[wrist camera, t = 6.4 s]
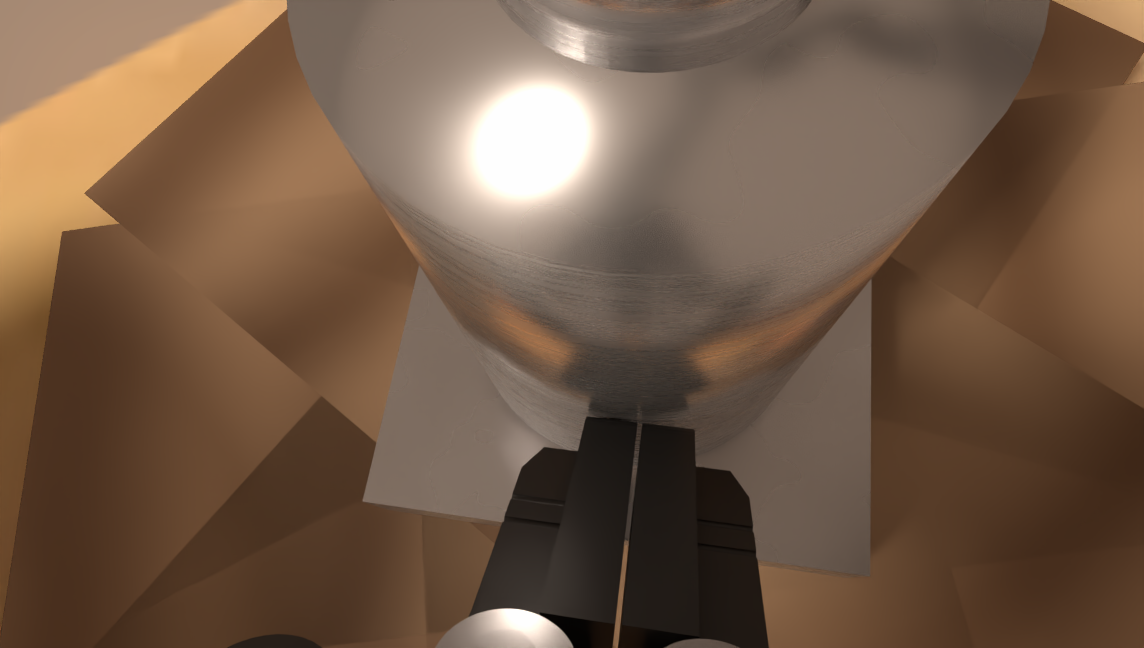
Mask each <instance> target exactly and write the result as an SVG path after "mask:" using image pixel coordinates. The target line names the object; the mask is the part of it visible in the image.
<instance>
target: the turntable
mask: <svg viewBox="0 0 1144 648" xmlns="http://www.w3.org/2000/svg"><path fill="white" fill-rule="evenodd" d="M1143 53H1144V43H1143V42H1141V41H1138V40H1136V39H1134V38H1132V37H1130V36H1128V35H1125V34H1123V33H1121V32H1119V31H1117V30H1115V29H1112V28H1110V27H1108V26H1106V25H1104V24H1102V23H1099V22H1097V21H1095V20H1093V19H1091V18H1089V17H1086V16H1084V15H1082V14H1080V13H1078V12H1076V11H1073V10H1071V9H1069V8H1067V7H1065V6H1063V5H1060V4H1058V3H1056V2H1054V1H1052V0H1050V3H1049V9H1048V15H1047V21H1046V27H1045V32H1044V35H1043V37H1042V40H1041V43H1040V46H1039V48H1038V51H1037V54H1036V56H1035V59H1034V62H1033V65H1032V67H1031V70H1030V72H1029V74H1028V76H1027V78H1026V79H1025V81H1024V83H1023V85H1022V86H1021V88H1020V90H1019V91H1018V93H1017V95H1016V97H1015V98H1014V100H1013V102H1012V103H1011V105H1010V107H1009V109H1008V110H1007V112H1006V113H1005V114H1004V116H1003V117H1002V118H1001V119H1000V120H999V122H998V123H997V124H996V125H995V127H994V128H993V129H992V130H991V132H990V133H989V134H988V135H987V137H986V138H985V139H984V140H983V141H982V143H981V144H980V145H979V146H978V148H977V149H976V150H975V151H974V153H973V154H972V155H971V156H970V158H969V159H968V160H967V161H966V162H965V164H964V165H963V166H962V167H961V169H960V170H959V171H958V172H957V174H956V175H955V176H954V177H953V179H952V180H951V181H950V182H949V183H948V185H947V186H946V187H945V188H944V190H943V191H942V192H941V193H940V195H939V196H938V197H937V198H936V200H935V201H934V202H933V203H932V204H931V206H930V207H929V208H928V209H927V211H926V212H925V213H924V214H923V216H922V217H921V218H920V219H919V221H918V222H917V223H916V224H915V225H914V227H913V228H912V229H911V230H910V232H909V233H908V234H907V235H906V237H905V238H904V239H903V240H902V242H901V243H900V244H899V245H898V246H897V248H896V249H895V250H894V251H893V253H892V254H891V255H890V256H889V258H888V259H887V260H886V261H885V263H884V264H883V265H882V266H881V267H880V269H879V270H878V271H877V272H876V274H875V275H874V276H873V277H872V279H871V512H870V577H850V578H843V577H836V576H829V575H823V574H816V573H809V572H802V571H796V570H789V569H782V568H775V567H769V566H762V565H758V567H759V575H760V583H761V590H762V598H763V606H764V613H765V621H766V629H767V636H768V644H769V648H1144V82H1141V83H1134V84H1127V85H1123V83H1124V82H1125V80H1126V79H1127V77H1128V76H1129V74H1130V73H1131V71H1132V70H1133V68H1134V67H1135V65H1136V63H1137V62H1138V60H1139V59H1140V57H1141V56H1142V54H1143ZM85 194H86V195H87V196H88V197H89V198H90V199H92V200H93V201H94V202H95V203H96V204H97V205H99V206H100V207H101V208H102V209H103V210H104V211H106V212H107V213H108V214H109V215H110V216H112V217H113V218H114V219H115V220H116V221H117V222H119V223H120V224H114V225H107V226H99V227H92V228H85V229H78V230H70V231H63V232H62V237H61V244H60V250H59V257H58V263H57V270H56V276H55V283H54V289H53V296H52V302H51V309H50V315H49V322H48V328H47V335H46V341H45V348H44V354H43V361H42V367H41V374H40V381H39V387H38V394H37V400H36V407H35V413H34V420H33V426H32V433H31V439H30V446H29V452H28V459H27V465H26V472H25V478H24V485H23V491H22V498H21V504H20V511H19V518H18V524H17V531H16V537H15V544H14V550H13V557H12V563H11V570H10V576H9V583H8V589H7V596H6V602H5V609H4V615H3V622H2V628H1V635H0V648H227V647H229V646H231V645H233V644H236V643H238V642H241V641H244V640H247V639H250V638H254V637H259V636H264V635H273V634H286V635H294V636H299V637H303V638H306V639H308V640H311V641H313V642H315V643H316V644H318V645H319V646H321V647H322V648H436V646H437V644H438V643H439V641H440V640H441V638H442V637H443V636H444V635H445V634H446V633H447V632H448V631H449V630H450V629H451V628H452V627H454V626H455V625H456V624H458V623H459V622H461V621H462V620H464V619H466V618H468V616H469V614H470V612H471V610H472V607H473V604H474V601H475V598H476V595H477V593H478V590H479V587H480V584H481V581H482V578H483V576H484V573H485V570H486V567H487V564H488V561H489V558H490V556H491V553H492V550H493V547H494V544H495V541H496V539H497V536H498V533H499V530H500V526H493V525H486V524H480V523H473V522H466V521H459V520H453V519H446V518H439V517H433V516H426V515H419V514H412V513H406V512H399V511H392V510H387V509H384V508H381V507H378V506H375V505H372V504H369V503H366V502H363V497H364V493H365V489H366V485H367V481H368V477H369V472H370V468H371V464H372V460H373V456H374V451H375V447H376V443H377V439H378V435H379V431H380V426H381V422H382V418H383V414H384V410H385V406H386V401H387V397H388V393H389V389H390V385H391V381H392V376H393V372H394V368H395V364H396V360H397V356H398V351H399V347H400V343H401V339H402V335H403V331H404V326H405V322H406V318H407V314H408V310H409V306H410V301H411V297H412V293H413V289H414V285H415V280H416V276H417V272H418V268H419V264H418V262H417V261H416V259H415V258H414V256H413V254H412V253H411V251H410V250H409V248H408V246H407V245H406V243H405V242H404V240H403V238H402V237H401V235H400V234H399V232H398V230H397V229H396V227H395V226H394V224H393V222H392V221H391V219H390V218H389V216H388V215H387V213H386V211H385V210H384V208H383V207H382V205H381V203H380V202H379V200H378V199H377V197H376V195H375V194H374V192H373V191H372V189H371V187H370V186H369V184H368V183H367V181H366V180H365V178H364V176H363V175H362V173H361V172H360V170H359V168H358V167H357V165H356V164H355V162H354V160H353V159H352V157H351V156H350V154H349V152H348V151H347V149H346V148H345V146H344V145H343V143H342V141H341V140H340V138H339V137H338V135H337V133H336V132H335V130H334V129H333V127H332V125H331V124H330V122H329V121H328V119H327V117H326V116H325V114H324V113H323V111H322V110H321V108H320V106H319V105H318V103H317V102H316V100H315V98H314V97H313V95H312V93H311V91H310V88H309V86H308V84H307V81H306V79H305V76H304V74H303V72H302V69H301V67H300V65H299V62H298V60H297V57H296V53H295V49H294V44H293V40H292V35H291V31H290V27H289V22H288V11H287V10H286V11H285V12H283V13H282V14H281V15H280V16H279V17H278V18H277V19H276V20H275V21H274V22H272V23H271V24H270V25H269V26H268V27H267V28H266V29H265V30H264V31H263V32H261V33H260V34H259V35H258V36H257V37H256V38H255V39H254V40H253V41H252V42H250V43H249V44H248V45H247V46H246V47H245V48H244V49H243V50H242V51H241V52H239V53H238V54H237V55H236V56H235V57H234V58H233V59H232V60H231V61H230V62H228V63H227V64H226V65H225V66H224V67H223V68H222V69H221V70H220V71H218V72H217V73H216V74H215V75H214V76H213V77H212V78H211V79H210V80H209V81H207V82H206V83H205V84H204V85H203V86H202V87H201V88H200V89H199V90H198V91H196V92H195V93H194V94H193V95H192V96H191V97H190V98H189V99H188V100H187V101H185V102H184V103H183V104H182V105H181V106H180V107H179V108H178V109H177V110H176V111H174V112H173V113H172V114H171V115H170V116H169V117H168V118H167V119H166V120H165V121H163V122H162V123H161V124H160V125H159V126H158V127H157V128H156V129H155V130H154V131H152V132H151V133H150V134H149V135H148V136H147V137H146V138H145V139H144V140H143V141H141V142H140V143H139V144H138V145H137V146H136V147H135V148H134V149H133V150H131V151H130V152H129V153H128V154H127V155H126V156H125V157H124V158H123V159H122V160H120V161H119V162H118V163H117V164H116V165H115V166H114V167H113V168H112V169H111V170H109V171H108V172H107V173H106V174H105V175H104V176H103V177H102V178H101V179H100V180H98V181H97V182H96V183H95V184H94V185H93V186H92V187H91V188H90V189H89V190H87V191H86V192H85ZM627 555H628V545H624V551H623V560H622V569H621V578H620V587H619V596H618V605H617V613H616V622H615V631H614V640H613V648H618V642H619V632H620V622H621V613H622V603H623V593H624V584H625V574H626V565H627Z"/></svg>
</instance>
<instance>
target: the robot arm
mask: <svg viewBox="0 0 1144 648" xmlns="http://www.w3.org/2000/svg"><path fill="white" fill-rule="evenodd" d="M637 424H638V422H630V421H622V420H614V419H606V418H598V417H590V416H587V417H586V419H585V423H584V427H583V431H582V435H581V440H580V444H579V448H578V451H572V450H564V449H557V448H549V447H544V448H543V449H541V450H540V451H539V452H538V453H537V454H536V455H535V456H534V457H532V458H531V459H530V460H529V461H528V462H527V463H526V464H525V465H524V466H522V467H521V470H520V473H519V476H518V479H517V482H516V485H515V487H514V490H513V493H512V499H510V502H509V504H508V507H507V510H506V513H505V516H504V522H502V524H501V527H500V530H499V533H498V536H497V539H496V541H495V544H494V547H493V550H492V553H491V556H490V558H489V561H488V564H487V567H486V570H485V573H484V576H483V578H482V581H481V584H480V587H479V590H478V593H477V595H476V598H475V601H474V604H473V607H472V610H471V612H470V614H469V616H468V618H466V619H464V620H462V621H461V622H459V623H458V624H456V625H455V626H454V627H452V628H451V629H450V630H449V631H448V632H447V633H446V634H445V635H444V636H443V637H442V638H441V640H440V641H439V643H438V644H437V646H436V648H613V640H614V631H615V622H616V613H617V605H618V596H619V587H620V578H621V569H622V560H623V551H624V542H625V533H626V524H627V515H628V506H629V497H630V488H631V479H632V470H633V460H634V451H635V442H636V433H637ZM227 648H322V647H321V646H319V645H318V644H316V643H315V642H313V641H311V640H308V639H306V638H303V637H299V636H294V635H286V634H273V635H264V636H259V637H254V638H250V639H247V640H244V641H241V642H238V643H236V644H233V645H231V646H229V647H227ZM618 648H769V644H768V636H767V629H766V621H765V613H764V606H763V598H762V590H761V583H760V575H759V567H758V559H757V558H756V544H755V536H754V532H753V521H752V513H751V506H750V498H749V496H748V495H747V493H746V492H745V491H744V489H743V488H742V486H741V485H740V484H739V482H738V481H737V479H736V478H735V477H734V475H733V474H732V472H731V471H728V470H720V469H712V468H705V467H697V466H696V458H695V430H694V429H688V428H680V427H672V426H664V425H656V424H648V423H642V430H641V439H640V447H639V456H638V465H637V474H636V483H635V492H634V500H633V509H632V518H631V527H630V536H629V546H628V555H627V565H626V574H625V584H624V593H623V603H622V613H621V622H620V632H619V642H618Z"/></svg>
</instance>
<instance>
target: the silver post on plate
mask: <svg viewBox="0 0 1144 648" xmlns="http://www.w3.org/2000/svg"><path fill="white" fill-rule="evenodd" d="M1049 3H1050V0H287V11H288V22H289V27H290V31H291V35H292V40H293V44H294V49H295V53H296V57H297V60H298V62H299V65H300V67H301V69H302V72H303V74H304V76H305V79H306V81H307V84H308V86H309V88H310V91H311V93H312V95H313V97H314V98H315V100H316V102H317V103H318V105H319V106H320V108H321V110H322V111H323V113H324V114H325V116H326V117H327V119H328V121H329V122H330V124H331V125H332V127H333V129H334V130H335V132H336V133H337V135H338V137H339V138H340V140H341V141H342V143H343V145H344V146H345V148H346V149H347V151H348V152H349V154H350V156H351V157H352V159H353V160H354V162H355V164H356V165H357V167H358V168H359V170H360V172H361V173H362V175H363V176H364V178H365V180H366V181H367V183H368V184H369V186H370V187H371V189H372V191H373V192H374V194H375V195H376V197H377V199H378V200H379V202H380V203H381V205H382V207H383V208H384V210H385V211H386V213H387V215H388V216H389V218H390V219H391V221H392V222H393V224H394V226H395V227H396V229H397V230H398V232H399V234H400V235H401V237H402V238H403V240H404V242H405V243H406V245H407V246H408V248H409V250H410V251H411V253H412V254H413V256H414V258H415V259H416V261H417V262H418V264H419V268H418V272H417V276H416V280H415V285H414V289H413V293H412V297H411V301H410V306H409V310H408V314H407V318H406V322H405V326H404V331H403V335H402V339H401V343H400V347H399V351H398V356H397V360H396V364H395V368H394V372H393V376H392V381H391V385H390V389H389V393H388V397H387V401H386V406H385V410H384V414H383V418H382V422H381V426H380V431H379V435H378V439H377V443H376V447H375V451H374V456H373V460H372V464H371V468H370V472H369V477H368V481H367V485H366V489H365V493H364V497H363V502H366V503H369V504H372V505H375V506H378V507H381V508H384V509H387V510H392V511H399V512H406V513H412V514H419V515H426V516H433V517H439V518H446V519H453V520H459V521H466V522H473V523H480V524H486V525H493V526H500V527H501V524H502V522H504V516H505V513H506V510H507V507H508V504H509V502H510V499H512V493H513V490H514V487H515V485H516V482H517V479H518V476H519V473H520V470H521V467H522V466H524V465H525V464H526V463H527V462H528V461H529V460H530V459H531V458H532V457H534V456H535V455H536V454H537V453H538V452H539V451H540V450H541V449H543V448H544V447H549V448H557V449H564V450H572V451H578V448H579V444H580V440H581V435H582V431H583V427H584V423H585V419H586V417H587V416H590V417H598V418H606V419H614V420H622V421H630V422H638V424H637V433H636V442H635V451H634V460H633V470H632V479H631V488H630V497H629V506H628V515H627V524H626V533H625V542H624V545H628V546H629V536H630V527H631V518H632V509H633V500H634V492H635V483H636V474H637V465H638V456H639V447H640V439H641V430H642V423H648V424H656V425H664V426H672V427H680V428H688V429H694V430H695V458H696V466H697V467H705V468H712V469H720V470H728V471H731V472H732V474H733V475H734V477H735V478H736V479H737V481H738V482H739V484H740V485H741V486H742V488H743V489H744V491H745V492H746V493H747V495H748V496H749V498H750V506H751V513H752V521H753V532H754V536H755V544H756V558H757V559H758V565H762V566H769V567H775V568H782V569H789V570H796V571H802V572H809V573H816V574H823V575H829V576H836V577H843V578H850V577H870V512H871V279H872V277H873V276H874V275H875V274H876V272H877V271H878V270H879V269H880V267H881V266H882V265H883V264H884V263H885V261H886V260H887V259H888V258H889V256H890V255H891V254H892V253H893V251H894V250H895V249H896V248H897V246H898V245H899V244H900V243H901V242H902V240H903V239H904V238H905V237H906V235H907V234H908V233H909V232H910V230H911V229H912V228H913V227H914V225H915V224H916V223H917V222H918V221H919V219H920V218H921V217H922V216H923V214H924V213H925V212H926V211H927V209H928V208H929V207H930V206H931V204H932V203H933V202H934V201H935V200H936V198H937V197H938V196H939V195H940V193H941V192H942V191H943V190H944V188H945V187H946V186H947V185H948V183H949V182H950V181H951V180H952V179H953V177H954V176H955V175H956V174H957V172H958V171H959V170H960V169H961V167H962V166H963V165H964V164H965V162H966V161H967V160H968V159H969V158H970V156H971V155H972V154H973V153H974V151H975V150H976V149H977V148H978V146H979V145H980V144H981V143H982V141H983V140H984V139H985V138H986V137H987V135H988V134H989V133H990V132H991V130H992V129H993V128H994V127H995V125H996V124H997V123H998V122H999V120H1000V119H1001V118H1002V117H1003V116H1004V114H1005V113H1006V112H1007V110H1008V109H1009V107H1010V105H1011V103H1012V102H1013V100H1014V98H1015V97H1016V95H1017V93H1018V91H1019V90H1020V88H1021V86H1022V85H1023V83H1024V81H1025V79H1026V78H1027V76H1028V74H1029V72H1030V70H1031V67H1032V65H1033V62H1034V59H1035V56H1036V54H1037V51H1038V48H1039V46H1040V43H1041V40H1042V37H1043V35H1044V32H1045V27H1046V21H1047V15H1048V9H1049Z"/></svg>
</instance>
